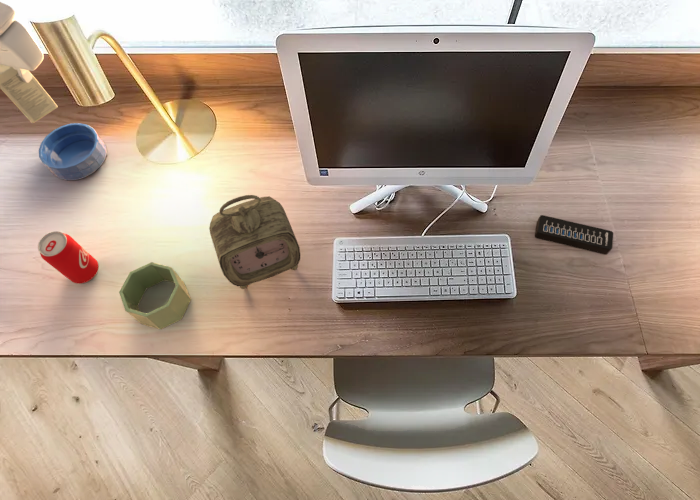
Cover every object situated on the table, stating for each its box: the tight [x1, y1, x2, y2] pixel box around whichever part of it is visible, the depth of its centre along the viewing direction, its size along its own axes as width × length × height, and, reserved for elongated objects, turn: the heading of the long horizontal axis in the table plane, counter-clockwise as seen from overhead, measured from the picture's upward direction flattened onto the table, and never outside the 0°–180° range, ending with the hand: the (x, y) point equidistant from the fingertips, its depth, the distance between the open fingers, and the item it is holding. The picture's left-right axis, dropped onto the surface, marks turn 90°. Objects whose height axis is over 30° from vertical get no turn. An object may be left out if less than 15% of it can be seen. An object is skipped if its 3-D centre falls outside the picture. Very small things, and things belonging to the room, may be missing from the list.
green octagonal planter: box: [118, 261, 192, 330], centre depth 95 cm, size 10×10×7 cm
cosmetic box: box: [0, 65, 59, 124], centre depth 97 cm, size 6×4×12 cm
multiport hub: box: [534, 214, 614, 255], centre depth 100 cm, size 4×14×2 cm, turn 72°
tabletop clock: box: [208, 194, 301, 290], centre depth 90 cm, size 14×9×25 cm, turn 112°
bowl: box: [38, 122, 108, 181], centre depth 114 cm, size 13×13×5 cm
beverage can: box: [37, 231, 100, 285], centre depth 97 cm, size 6×6×12 cm
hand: (11, 76), depth 94 cm, fingers closed on cosmetic box, 6 cm apart
